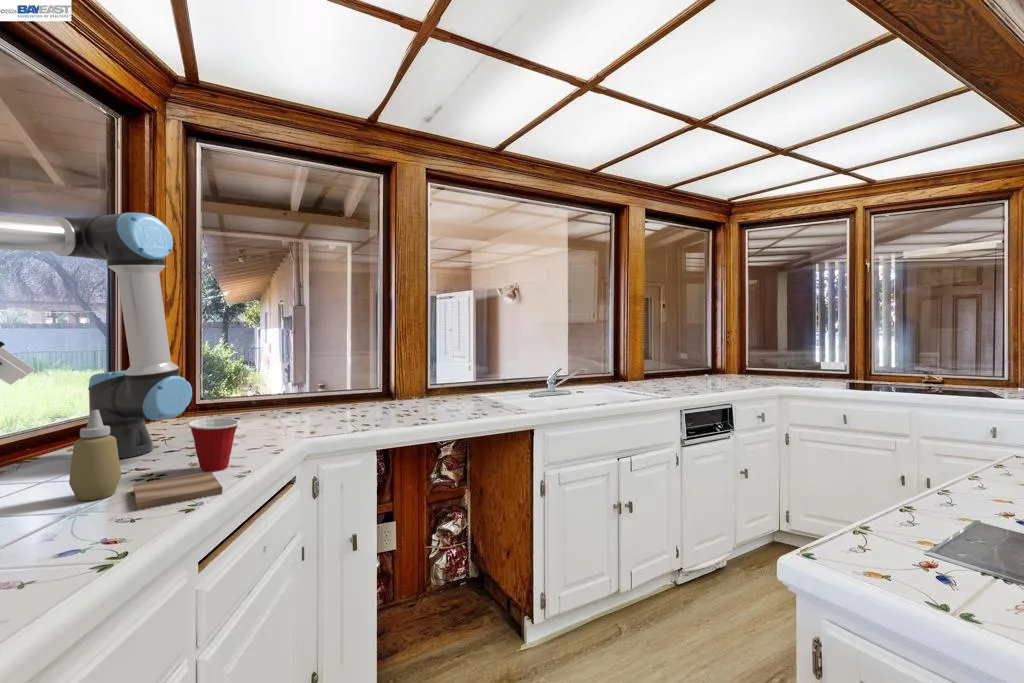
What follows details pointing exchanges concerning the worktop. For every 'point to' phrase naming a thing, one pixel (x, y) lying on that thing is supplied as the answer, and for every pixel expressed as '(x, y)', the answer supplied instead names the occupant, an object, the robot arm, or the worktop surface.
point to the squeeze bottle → (94, 461)
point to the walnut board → (176, 490)
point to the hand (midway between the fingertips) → (24, 376)
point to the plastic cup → (213, 441)
